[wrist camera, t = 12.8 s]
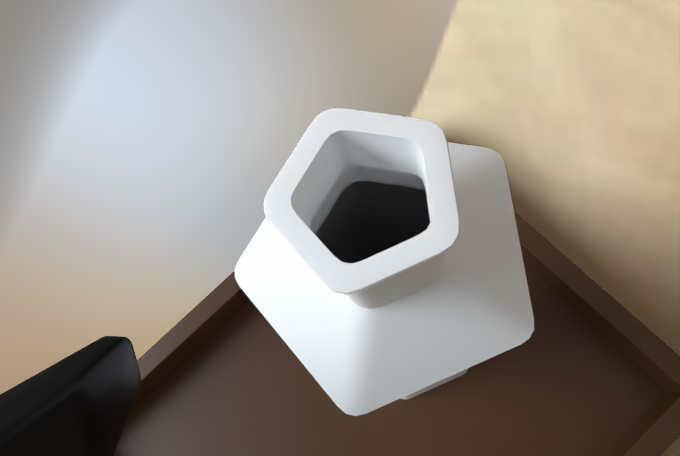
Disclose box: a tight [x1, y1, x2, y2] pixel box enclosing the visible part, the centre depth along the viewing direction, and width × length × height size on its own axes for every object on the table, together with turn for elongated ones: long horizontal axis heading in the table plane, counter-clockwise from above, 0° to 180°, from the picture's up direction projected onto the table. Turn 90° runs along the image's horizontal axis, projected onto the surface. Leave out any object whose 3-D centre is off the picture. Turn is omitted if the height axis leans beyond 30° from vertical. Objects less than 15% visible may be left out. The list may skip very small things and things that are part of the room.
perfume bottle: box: [235, 108, 534, 416], centre depth 13 cm, size 5×4×15 cm
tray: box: [113, 212, 680, 456], centre depth 20 cm, size 17×13×2 cm
